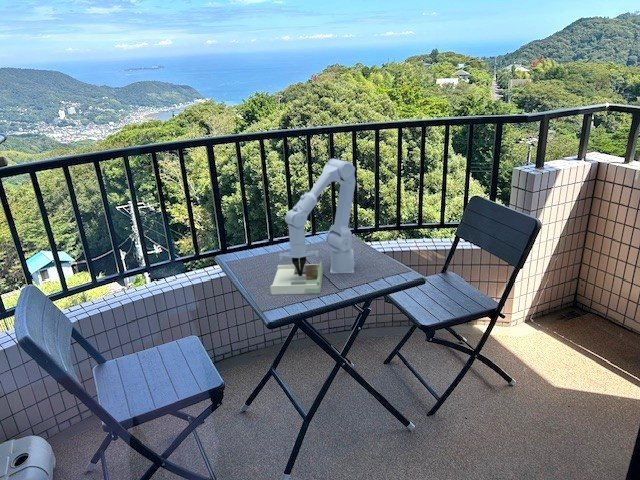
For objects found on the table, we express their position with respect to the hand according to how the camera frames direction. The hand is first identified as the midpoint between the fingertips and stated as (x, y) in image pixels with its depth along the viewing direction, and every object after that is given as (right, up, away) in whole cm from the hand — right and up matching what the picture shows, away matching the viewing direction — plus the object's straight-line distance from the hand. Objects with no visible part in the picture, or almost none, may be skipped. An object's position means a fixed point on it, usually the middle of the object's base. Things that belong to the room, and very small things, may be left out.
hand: (300, 275), depth 167 cm
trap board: (-1, -3, +1) cm, 3 cm away
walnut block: (+4, -1, +1) cm, 4 cm away
